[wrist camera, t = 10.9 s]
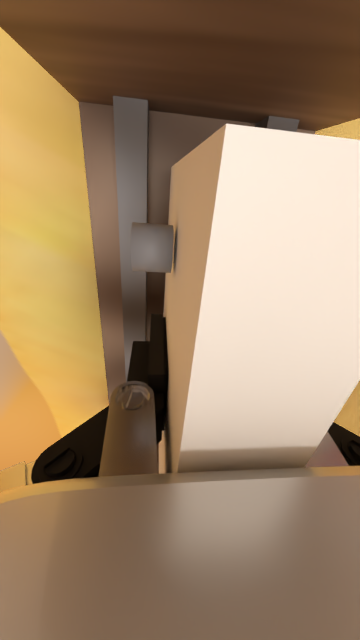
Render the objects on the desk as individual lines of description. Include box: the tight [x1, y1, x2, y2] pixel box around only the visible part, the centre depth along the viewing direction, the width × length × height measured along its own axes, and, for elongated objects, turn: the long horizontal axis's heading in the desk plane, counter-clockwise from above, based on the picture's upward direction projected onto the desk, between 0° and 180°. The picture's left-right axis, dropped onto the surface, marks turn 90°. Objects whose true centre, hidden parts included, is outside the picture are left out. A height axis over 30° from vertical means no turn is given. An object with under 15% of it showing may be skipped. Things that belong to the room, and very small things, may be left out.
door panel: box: [131, 124, 360, 474], centre depth 9 cm, size 14×4×9 cm, turn 175°
